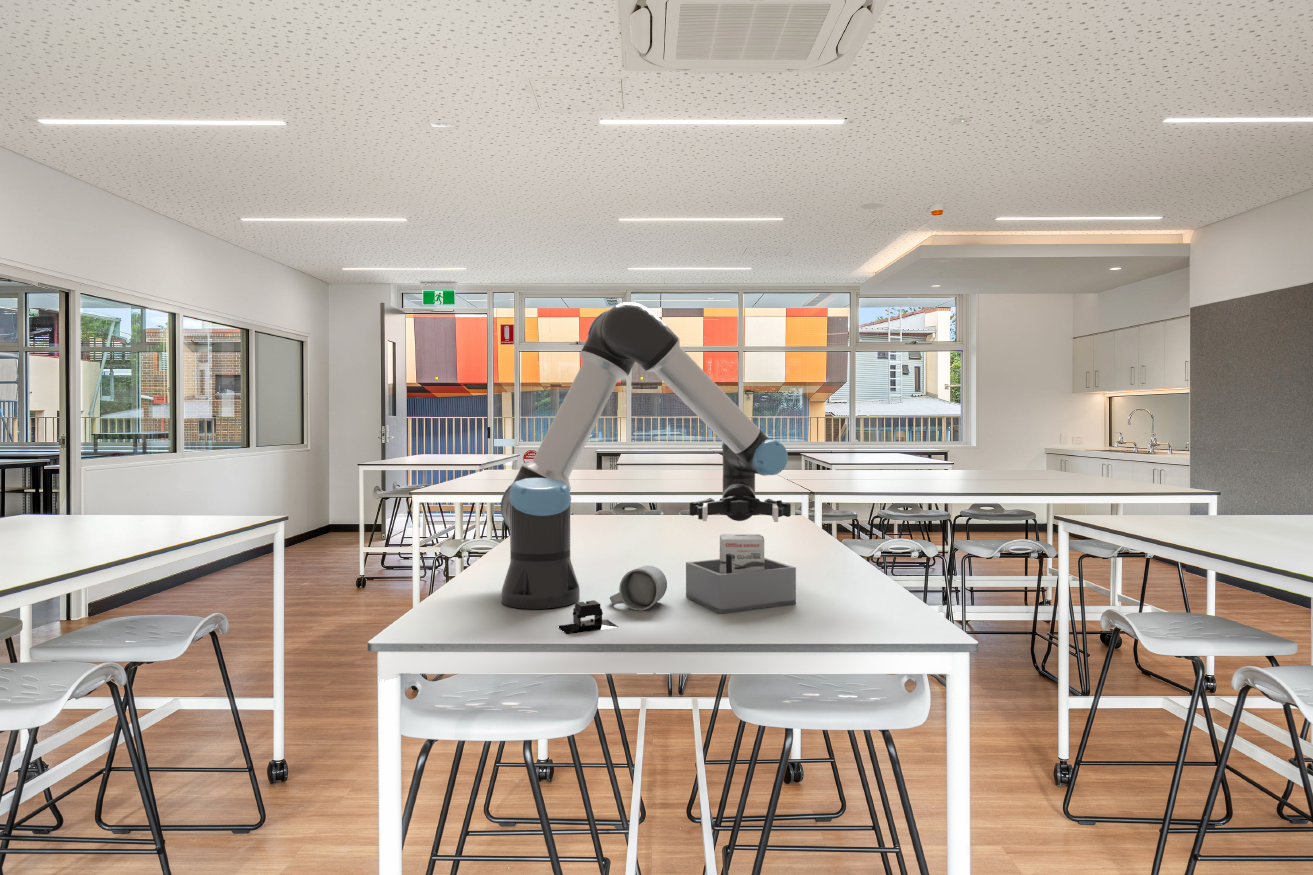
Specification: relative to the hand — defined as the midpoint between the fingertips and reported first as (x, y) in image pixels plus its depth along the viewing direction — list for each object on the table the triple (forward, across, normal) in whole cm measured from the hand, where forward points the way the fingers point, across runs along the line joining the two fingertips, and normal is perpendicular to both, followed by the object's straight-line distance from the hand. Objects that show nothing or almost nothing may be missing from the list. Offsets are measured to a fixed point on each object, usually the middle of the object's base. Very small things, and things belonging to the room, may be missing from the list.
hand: (740, 514), depth 138 cm
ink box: (-3, 0, -16) cm, 17 cm away
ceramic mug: (+3, +19, -17) cm, 26 cm away
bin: (-2, 0, -17) cm, 17 cm away
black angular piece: (+18, +26, -18) cm, 36 cm away
